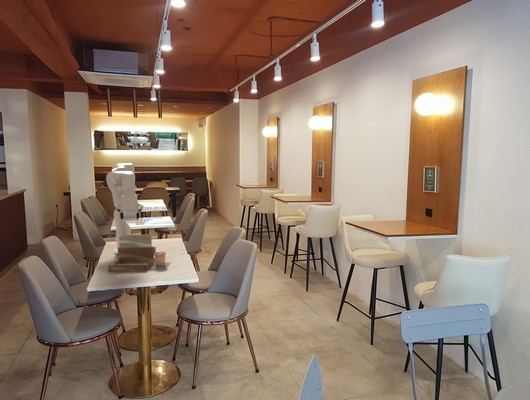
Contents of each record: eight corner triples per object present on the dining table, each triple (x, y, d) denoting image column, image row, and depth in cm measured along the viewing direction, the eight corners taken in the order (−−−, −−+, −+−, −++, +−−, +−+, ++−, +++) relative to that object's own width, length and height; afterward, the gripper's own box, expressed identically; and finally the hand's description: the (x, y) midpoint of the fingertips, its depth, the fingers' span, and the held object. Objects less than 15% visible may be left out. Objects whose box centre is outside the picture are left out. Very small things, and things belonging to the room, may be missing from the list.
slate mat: (154, 263, 250) (154, 262, 249) (170, 262, 250) (170, 262, 250) (149, 269, 236) (149, 269, 236) (166, 269, 236) (166, 268, 236)
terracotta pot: (156, 264, 246) (155, 251, 245) (167, 263, 246) (166, 251, 245) (153, 267, 239) (152, 254, 238) (164, 267, 240) (164, 254, 239)
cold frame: (119, 262, 251) (117, 235, 249) (154, 261, 252) (152, 234, 250) (108, 271, 232) (106, 241, 230) (146, 270, 233) (144, 241, 231)
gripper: (113, 193, 243) (114, 220, 246) (141, 193, 245) (142, 220, 247) (116, 191, 251) (118, 217, 254) (144, 191, 252) (145, 217, 255)
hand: (130, 219), depth 250 cm, fingers open, 9 cm apart
